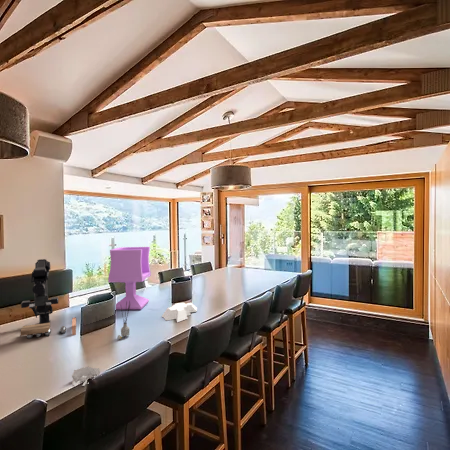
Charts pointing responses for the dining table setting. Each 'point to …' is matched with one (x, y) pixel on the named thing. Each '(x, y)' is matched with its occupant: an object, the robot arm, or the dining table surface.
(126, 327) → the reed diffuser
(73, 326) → the bar
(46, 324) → the slab
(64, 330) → the roller
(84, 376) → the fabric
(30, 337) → the roller
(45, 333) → the roller
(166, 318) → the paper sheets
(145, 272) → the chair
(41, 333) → the roller mid
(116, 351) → the dining table surface
